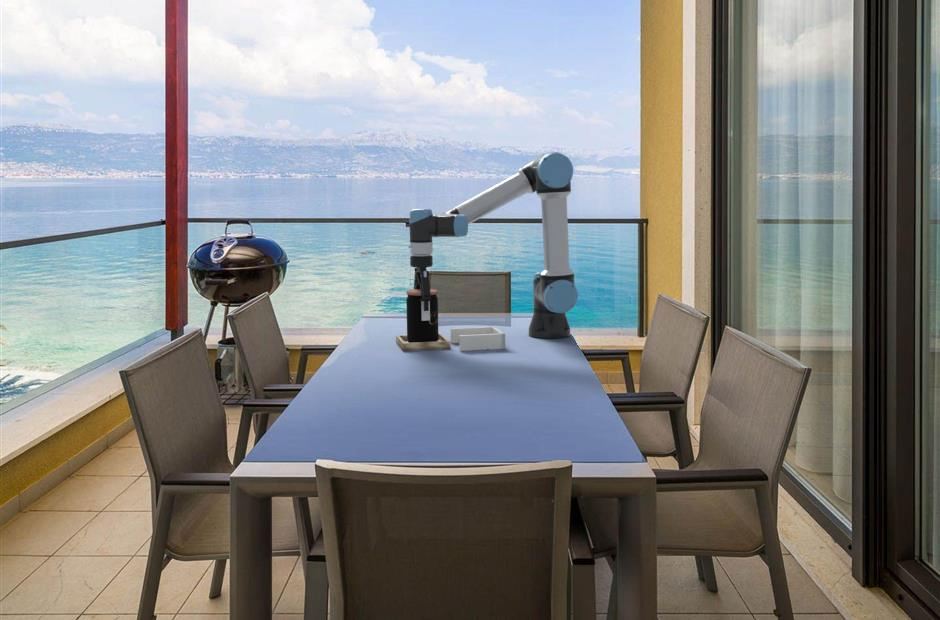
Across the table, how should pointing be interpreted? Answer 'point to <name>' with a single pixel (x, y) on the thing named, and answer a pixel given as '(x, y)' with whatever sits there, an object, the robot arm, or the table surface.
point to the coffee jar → (415, 325)
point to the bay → (478, 338)
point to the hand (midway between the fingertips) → (422, 317)
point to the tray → (422, 343)
